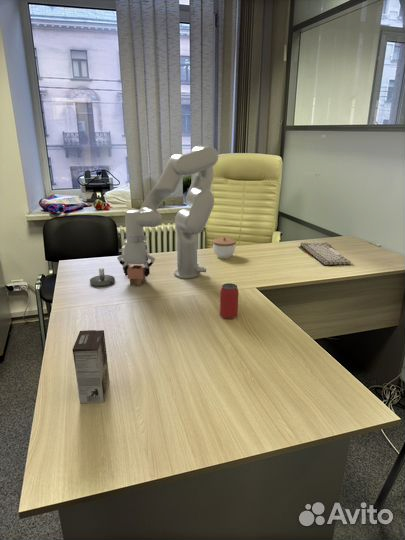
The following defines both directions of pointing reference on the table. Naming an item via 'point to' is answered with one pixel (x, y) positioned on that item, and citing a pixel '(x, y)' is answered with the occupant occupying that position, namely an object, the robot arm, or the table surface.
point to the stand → (136, 280)
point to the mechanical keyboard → (324, 254)
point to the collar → (136, 272)
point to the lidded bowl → (224, 247)
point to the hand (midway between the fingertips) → (137, 275)
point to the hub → (102, 279)
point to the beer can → (229, 301)
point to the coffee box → (91, 366)
